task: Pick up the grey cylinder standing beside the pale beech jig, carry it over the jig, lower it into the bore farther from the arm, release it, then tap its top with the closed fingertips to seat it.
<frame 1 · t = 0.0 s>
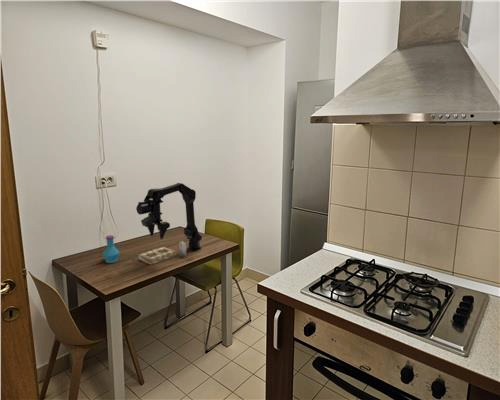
hand: (156, 237, 199), 15 cm above the table, fingers open, 9 cm apart
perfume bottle: (111, 260, 203), on the table
jig: (157, 257, 208), on the table
grey cylinder: (183, 256, 211), on the table
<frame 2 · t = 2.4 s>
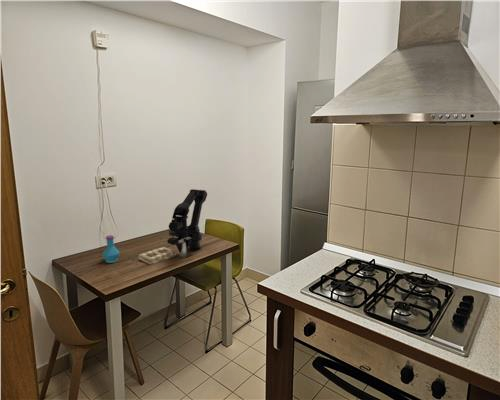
hand: (183, 251, 210), 3 cm above the table, fingers closed on grey cylinder, 4 cm apart
grey cylinder: (183, 256, 211), on the table, touching gripper
everything else where it was.
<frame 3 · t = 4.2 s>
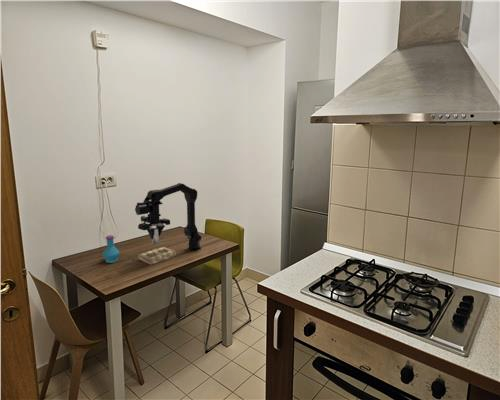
hand: (155, 238, 203), 13 cm above the table, fingers closed on grey cylinder, 4 cm apart
grey cylinder: (155, 243, 203), point 10 cm above the table, touching gripper
everything else where it was.
when the fingers open (4 cm above the table, at t = 5.9 s): grey cylinder drops 2 cm, resting in jig.
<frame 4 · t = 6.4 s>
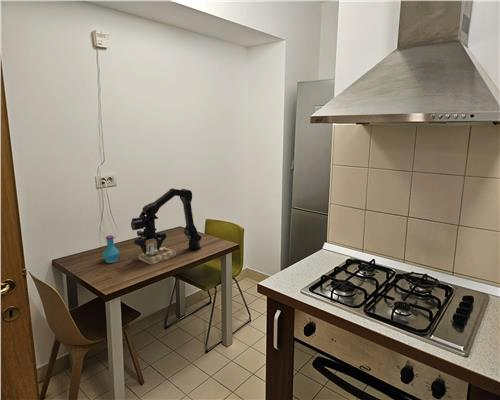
hand: (151, 252, 204), 4 cm above the table, fingers open, 9 cm apart
grey cylinder: (152, 259, 205), resting in jig
everything else where it was.
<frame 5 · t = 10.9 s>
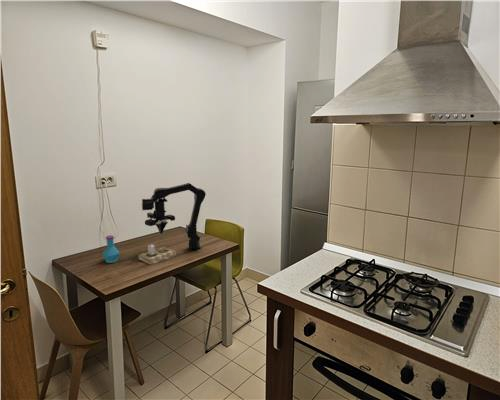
hand: (161, 233, 214), 13 cm above the table, fingers closed
nothing on the table moved.
at the end: grey cylinder 0.1 cm from the target spot on the jig, point 0.0 cm above the jig's base; grey cylinder tilted 0°; the gripper is holding nothing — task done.
